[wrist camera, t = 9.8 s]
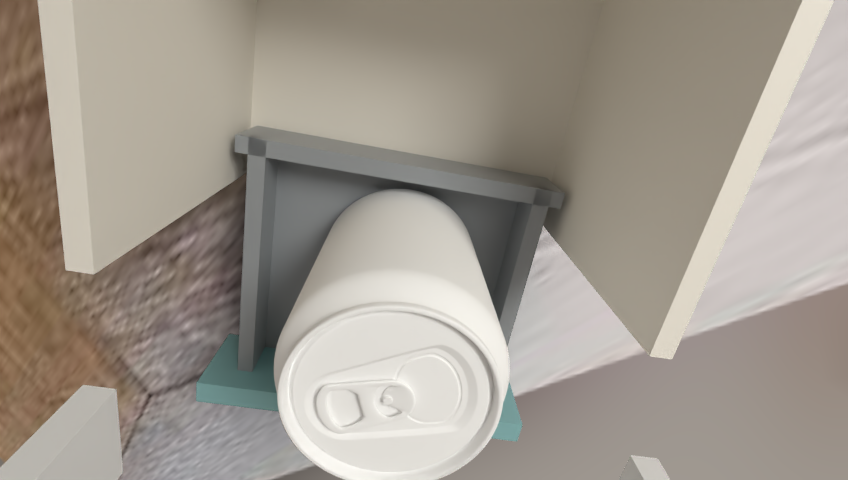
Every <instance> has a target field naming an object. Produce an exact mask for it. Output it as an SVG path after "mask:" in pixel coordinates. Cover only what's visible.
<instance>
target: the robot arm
mask: <svg viewBox="0 0 848 480" xmlns="http://www.w3.org/2000/svg"><path fill="white" fill-rule="evenodd" d="M122 473H123V464H122V452H121V440H120V428H119V416H118V403H117V391H116V389H112V388H104V387H96V386H88V385H82V386H81V387H80V388H79V389H78V390H77V391H76V392H75V393H74V394H73V395H72V396H71V397H70V398H69V399H68V400H67V401H66V402H65V403H64V404H63V405H62V406H61V407H60V408H59V409H58V410H57V411H56V412H55V413H54V414H53V415H52V416H51V417H50V418H49V419H48V420H47V421H46V422H45V423H44V424H43V425H42V426H41V427H40V428H39V429H38V430H37V431H36V432H35V433H34V434H33V435H32V436H31V437H30V438H29V439H28V440H27V441H26V442H25V443H24V444H23V445H22V446H21V447H20V448H19V449H18V450H17V451H16V452H15V453H14V454H13V455H12V456H11V457H10V458H9V459H8V460H7V461H6V462H5V463H4V464H3V465H2V466H1V467H0V480H118V479H119V477H120V476H121V474H122ZM619 480H670V479H669V477H668V475H667V473H666V472H665V470H664V468H663V467H662V465H661V464H660V462H659V460H658V459H657V458H649V457H641V456H633V455H631V456H630V458H629V460H628V462H627V464H626V466H625V468H624V470H623V472H622V474H621V477H620V479H619Z"/></svg>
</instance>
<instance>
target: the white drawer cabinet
mask: <svg viewBox="0 0 848 480" xmlns="http://www.w3.org/2000/svg"><path fill="white" fill-rule="evenodd" d="M833 2H834V0H38V8H39V18H40V28H41V37H42V47H43V56H44V66H45V76H46V85H47V95H48V105H49V114H50V124H51V134H52V143H53V153H54V163H55V172H56V182H57V191H58V201H59V211H60V220H61V230H62V240H63V249H64V259H65V269H66V270H67V271H74V272H81V273H88V274H95V273H97V272H98V271H100V270H101V269H103V268H104V267H106V266H107V265H109V264H110V263H112V262H113V261H115V260H116V259H118V258H119V257H121V256H122V255H124V254H125V253H127V252H128V251H130V250H131V249H133V248H134V247H136V246H137V245H139V244H140V243H142V242H143V241H145V240H146V239H148V238H149V237H151V236H152V235H154V234H155V233H157V232H158V231H160V230H161V229H163V228H164V227H166V226H167V225H169V224H170V223H172V222H173V221H175V220H176V219H178V218H179V217H181V216H182V215H184V214H185V213H187V212H188V211H190V210H191V209H193V208H194V207H196V206H197V205H199V204H200V203H202V202H203V201H205V200H206V199H208V198H209V197H211V196H212V195H214V194H215V193H217V192H218V191H220V190H221V189H223V188H224V187H226V186H227V185H229V184H230V183H232V182H233V181H235V180H236V179H238V178H239V177H241V176H242V175H244V174H245V173H247V161H248V154H243V153H237V152H235V134H238V133H240V132H243V131H245V130H248V129H250V128H252V127H255V126H263V127H268V128H274V129H280V130H285V131H291V132H296V133H302V134H307V135H313V136H318V137H324V138H329V139H335V140H340V141H346V142H351V143H357V144H362V145H368V146H373V147H379V148H385V149H390V150H396V151H401V152H407V153H412V154H418V155H423V156H429V157H434V158H440V159H445V160H451V161H456V162H462V163H467V164H473V165H478V166H484V167H490V168H495V169H501V170H506V171H512V172H517V173H523V174H528V175H534V176H539V177H545V178H547V179H549V180H550V181H551V182H552V183H553V184H555V185H556V186H557V187H558V188H559V189H560V190H562V191H563V192H564V193H565V195H564V198H563V202H562V205H561V208H560V209H557V208H552V207H548V210H547V214H546V217H545V221H544V224H543V226H544V227H545V228H546V230H547V231H548V232H549V233H550V235H551V236H552V237H553V238H554V239H555V241H556V242H557V243H558V244H559V246H560V247H561V248H562V249H563V250H564V252H565V253H566V254H567V255H568V257H569V258H570V259H571V260H572V262H573V263H574V264H575V265H576V266H577V268H578V269H579V270H580V271H581V273H582V274H583V275H584V276H585V278H586V279H587V280H588V281H589V282H590V284H591V285H592V286H593V287H594V289H595V290H596V291H597V292H598V294H599V295H600V296H601V297H602V298H603V300H604V301H605V302H606V303H607V305H608V306H609V307H610V308H611V309H612V311H613V312H614V313H615V314H616V316H617V317H618V318H619V319H620V321H621V322H622V323H623V324H624V325H625V327H626V328H627V329H628V330H629V332H630V333H631V334H632V335H633V337H634V338H635V339H636V340H637V341H638V343H639V344H640V345H641V346H642V348H643V349H644V350H645V351H646V353H647V354H648V355H649V356H652V357H659V358H666V359H672V358H673V356H674V354H675V351H676V349H677V347H678V345H679V343H680V341H681V338H682V336H683V334H684V332H685V329H686V327H687V325H688V323H689V321H690V318H691V316H692V314H693V312H694V310H695V307H696V305H697V303H698V301H699V299H700V296H701V294H702V292H703V290H704V287H705V285H706V283H707V281H708V279H709V276H710V274H711V272H712V270H713V268H714V265H715V263H716V261H717V259H718V256H719V254H720V252H721V250H722V248H723V245H724V243H725V241H726V239H727V237H728V234H729V232H730V230H731V228H732V226H733V223H734V221H735V219H736V217H737V214H738V212H739V210H740V208H741V206H742V203H743V201H744V199H745V197H746V195H747V192H748V190H749V188H750V186H751V184H752V181H753V179H754V177H755V175H756V172H757V170H758V168H759V166H760V164H761V161H762V159H763V157H764V155H765V153H766V150H767V148H768V146H769V144H770V142H771V139H772V137H773V135H774V133H775V130H776V128H777V126H778V124H779V122H780V119H781V117H782V115H783V113H784V111H785V108H786V106H787V104H788V102H789V99H790V97H791V95H792V93H793V91H794V88H795V86H796V84H797V82H798V80H799V77H800V75H801V73H802V71H803V69H804V66H805V64H806V62H807V60H808V57H809V55H810V53H811V51H812V49H813V46H814V44H815V42H816V40H817V38H818V35H819V33H820V31H821V29H822V27H823V24H824V22H825V20H826V18H827V15H828V13H829V11H830V9H831V7H832V4H833Z"/></svg>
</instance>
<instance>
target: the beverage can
mask: <svg viewBox="0 0 848 480" xmlns="http://www.w3.org/2000/svg"><path fill="white" fill-rule="evenodd" d="M509 375H510V362H509V353H508V348H507V345H506V341H505V338H504V335H503V332H502V329H501V326H500V323H499V320H498V317H497V314H496V311H495V309H494V306H493V303H492V300H491V297H490V294H489V291H488V288H487V285H486V282H485V279H484V276H483V273H482V270H481V267H480V264H479V262H478V259H477V256H476V253H475V250H474V247H473V244H472V241H471V238H470V235H469V233H468V231H467V229H466V227H465V225H464V223H463V222H462V220H461V219H460V218H459V216H458V215H457V214H456V213H455V212H454V211H453V210H452V209H451V208H450V207H449V206H448V205H446V204H445V203H443V202H442V201H440V200H439V199H437V198H435V197H433V196H431V195H429V194H426V193H423V192H420V191H415V190H410V189H387V190H382V191H378V192H374V193H371V194H369V195H366V196H364V197H362V198H360V199H359V200H357V201H355V202H354V203H352V204H351V205H350V206H349V207H347V208H346V209H345V210H344V211H343V212H342V213H341V215H340V216H339V217H338V218H337V220H336V221H335V223H334V224H333V226H332V228H331V230H330V232H329V234H328V236H327V238H326V240H325V242H324V244H323V247H322V249H321V251H320V253H319V255H318V257H317V259H316V261H315V263H314V265H313V267H312V269H311V271H310V274H309V276H308V278H307V280H306V282H305V284H304V286H303V288H302V290H301V292H300V294H299V296H298V298H297V301H296V303H295V305H294V307H293V309H292V311H291V313H290V315H289V317H288V319H287V321H286V323H285V326H284V328H283V330H282V332H281V334H280V337H279V340H278V343H277V346H276V351H275V357H274V381H275V387H276V391H277V402H278V410H279V414H280V418H281V421H282V424H283V426H284V428H285V430H286V432H287V434H288V436H289V437H290V439H291V441H292V442H293V443H294V445H295V446H296V447H297V448H298V449H299V451H300V452H301V453H302V454H303V455H304V456H305V457H307V458H308V459H309V460H310V461H311V462H313V463H314V464H315V465H317V466H318V467H320V468H321V469H323V470H325V471H327V472H328V473H330V474H333V475H334V476H337V477H339V478H341V479H344V480H437V479H440V478H442V477H445V476H446V475H449V474H451V473H453V472H455V471H456V470H458V469H460V468H461V467H463V466H464V465H466V464H467V463H468V462H470V461H471V460H472V459H473V458H474V457H476V456H477V454H479V453H480V451H481V450H482V449H483V448H484V447H485V446H486V444H487V443H488V442H489V440H490V439H491V437H492V436H493V434H494V432H495V430H496V428H497V425H498V423H499V420H500V417H501V413H502V407H503V402H504V399H505V396H506V393H507V389H508V384H509Z"/></svg>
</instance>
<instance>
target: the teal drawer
mask: <svg viewBox="0 0 848 480" xmlns="http://www.w3.org/2000/svg"><path fill="white" fill-rule="evenodd" d="M235 152H237V153H243V154H248V161H247V182H246V203H245V224H244V244H243V265H242V286H241V307H240V327H239V335H234V334H229V335H228V337H227V338H226V340H225V341H224V343H223V344H222V346H221V347H220V349H219V350H218V352H217V353H216V355H215V356H214V358H213V359H212V361H211V362H210V364H209V365H208V366H207V368H206V369H205V371H204V372H203V374H202V375H201V377H200V378H199V380H198V381H197V387H196V401H199V402H207V403H215V404H223V405H231V406H239V407H247V408H255V409H263V410H271V411H279V410H278V402H277V391H276V387H275V381H274V357H275V351H276V346H277V343H278V340H279V337H280V334H281V332H282V330H283V328H284V326H285V323H286V321H287V319H288V317H289V315H290V313H291V311H292V309H293V307H294V305H295V303H296V301H297V298H298V296H299V294H300V292H301V290H302V288H303V286H304V284H305V282H306V280H307V278H308V276H309V274H310V271H311V269H312V267H313V265H314V263H315V261H316V259H317V257H318V255H319V253H320V251H321V249H322V247H323V244H324V242H325V240H326V238H327V236H328V234H329V232H330V230H331V228H332V226H333V224H334V223H335V221H336V220H337V218H338V217H339V216H340V215H341V213H342V212H343V211H344V210H345V209H346V208H347V207H349V206H350V205H351V204H352V203H354V202H355V201H357V200H359V199H360V198H362V197H364V196H366V195H369V194H371V193H374V192H378V191H382V190H387V189H410V190H415V191H420V192H423V193H426V194H429V195H431V196H433V197H435V198H437V199H439V200H440V201H442V202H443V203H445V204H446V205H448V206H449V207H450V208H451V209H452V210H453V211H454V212H455V213H456V214H457V215H458V216H459V218H460V219H461V220H462V222H463V223H464V225H465V227H466V229H467V231H468V233H469V235H470V238H471V241H472V244H473V247H474V250H475V253H476V256H477V259H478V262H479V264H480V267H481V270H482V273H483V276H484V279H485V282H486V285H487V288H488V291H489V294H490V297H491V300H492V303H493V306H494V309H495V311H496V314H497V317H498V320H499V323H500V326H501V329H502V332H503V335H504V338H505V341H506V345H507V346H508V342H509V339H510V336H511V332H512V329H513V325H514V322H515V319H516V315H517V312H518V309H519V305H520V302H521V298H522V295H523V292H524V288H525V285H526V281H527V278H528V275H529V271H530V268H531V265H532V261H533V258H534V254H535V251H536V248H537V244H538V241H539V237H540V234H541V231H542V227H543V224H544V221H545V217H546V214H547V210H548V207H552V208H557V209H560V208H561V205H562V202H563V198H564V195H565V193H564V192H563V191H562V190H560V189H559V188H558V187H557V186H556V185H555V184H553V183H552V182H551V181H550V180H549V179H547V178H545V177H539V176H534V175H528V174H523V173H517V172H512V171H506V170H501V169H495V168H490V167H484V166H478V165H473V164H467V163H462V162H456V161H451V160H445V159H440V158H434V157H429V156H423V155H418V154H412V153H407V152H401V151H396V150H390V149H385V148H379V147H373V146H368V145H362V144H357V143H351V142H346V141H340V140H335V139H329V138H324V137H318V136H313V135H307V134H302V133H296V132H291V131H285V130H280V129H274V128H268V127H263V126H255V127H252V128H250V129H248V130H245V131H243V132H240V133H238V134H235ZM521 428H522V422H521V419H520V415H519V412H518V409H517V406H516V402H515V399H514V396H513V393H512V389H511V386H510V383H509V384H508V389H507V393H506V396H505V399H504V402H503V407H502V413H501V417H500V420H499V423H498V425H497V428H496V430H495V432H494V434H493V436H492V437H491V438H494V439H502V440H510V441H517V440H518V437H519V434H520V431H521Z"/></svg>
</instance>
